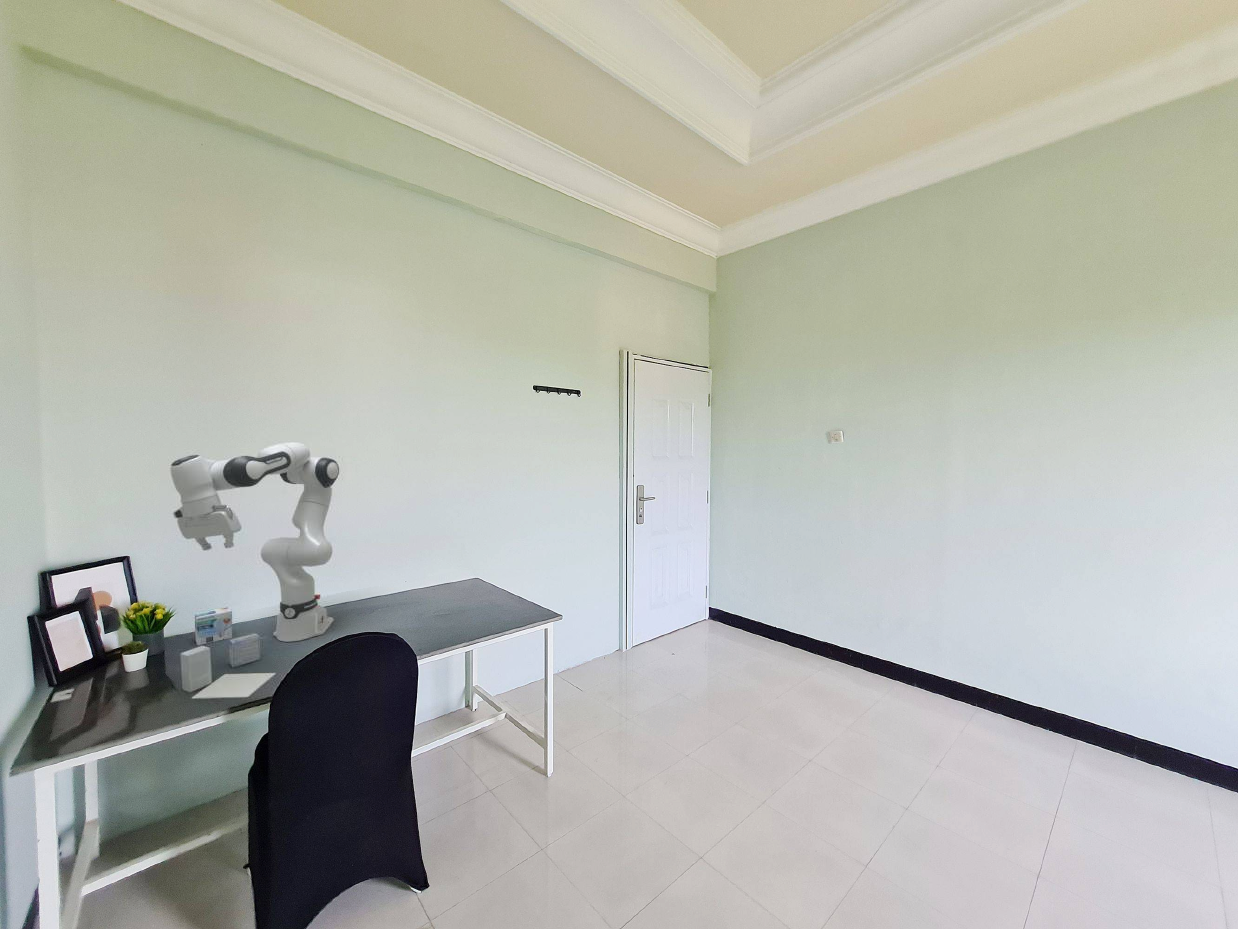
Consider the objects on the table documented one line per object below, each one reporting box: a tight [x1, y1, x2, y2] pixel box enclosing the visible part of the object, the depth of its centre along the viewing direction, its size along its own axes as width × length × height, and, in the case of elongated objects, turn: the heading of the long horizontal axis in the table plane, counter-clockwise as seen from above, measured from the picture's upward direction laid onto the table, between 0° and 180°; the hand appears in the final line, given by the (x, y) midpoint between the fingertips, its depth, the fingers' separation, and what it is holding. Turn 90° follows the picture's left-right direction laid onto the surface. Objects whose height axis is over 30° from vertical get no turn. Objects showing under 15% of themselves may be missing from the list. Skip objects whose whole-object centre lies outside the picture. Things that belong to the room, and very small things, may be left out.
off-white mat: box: [191, 672, 277, 700], centre depth 151 cm, size 14×16×1 cm
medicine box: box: [228, 632, 261, 668], centre depth 166 cm, size 8×4×9 cm, turn 141°
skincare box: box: [179, 645, 213, 693], centre depth 149 cm, size 6×4×12 cm
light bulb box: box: [194, 606, 233, 646], centre depth 182 cm, size 11×7×11 cm, turn 137°
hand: (218, 548), depth 150 cm, fingers open, 8 cm apart
